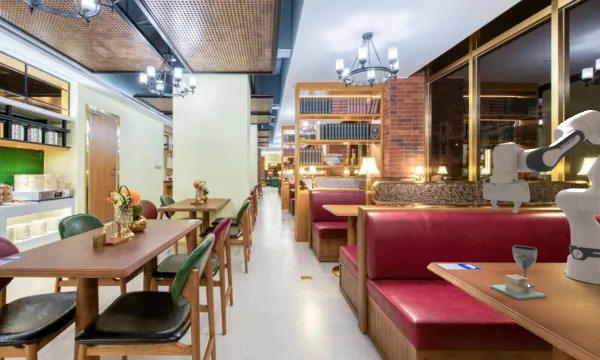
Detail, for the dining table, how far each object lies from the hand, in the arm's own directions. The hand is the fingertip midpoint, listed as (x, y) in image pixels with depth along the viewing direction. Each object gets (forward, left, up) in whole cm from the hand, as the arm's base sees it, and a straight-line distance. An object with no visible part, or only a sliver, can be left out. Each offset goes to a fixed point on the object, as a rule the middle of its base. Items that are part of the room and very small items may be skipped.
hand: (505, 211), depth 126 cm
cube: (+10, +14, -28) cm, 33 cm away
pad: (+10, +14, -29) cm, 34 cm away
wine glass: (-1, +8, -29) cm, 30 cm away
